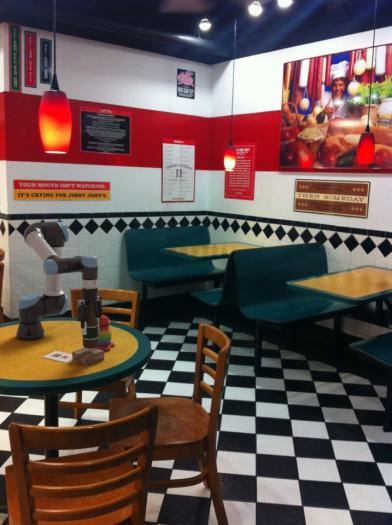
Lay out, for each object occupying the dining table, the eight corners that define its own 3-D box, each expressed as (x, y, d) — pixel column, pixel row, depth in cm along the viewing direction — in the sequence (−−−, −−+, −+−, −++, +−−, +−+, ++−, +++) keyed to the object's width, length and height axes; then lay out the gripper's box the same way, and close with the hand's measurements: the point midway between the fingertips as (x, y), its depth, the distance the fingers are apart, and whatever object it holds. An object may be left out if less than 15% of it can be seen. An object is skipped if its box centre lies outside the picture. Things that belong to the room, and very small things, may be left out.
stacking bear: (108, 352, 266) (108, 319, 263) (90, 350, 268) (90, 317, 265) (115, 345, 277) (115, 313, 273) (98, 343, 279) (98, 312, 275)
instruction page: (42, 357, 256) (42, 356, 256) (55, 351, 265) (55, 350, 265) (66, 363, 250) (66, 362, 250) (79, 356, 259) (79, 355, 259)
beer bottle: (83, 343, 256) (83, 297, 252) (99, 343, 257) (99, 297, 252) (81, 348, 248) (80, 301, 244) (97, 348, 249) (97, 301, 245)
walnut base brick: (72, 361, 253) (72, 351, 252) (88, 355, 262) (88, 345, 261) (87, 366, 247) (87, 357, 246) (104, 360, 256) (104, 350, 255)
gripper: (79, 292, 237) (80, 339, 241) (110, 284, 253) (110, 328, 258) (68, 289, 241) (69, 335, 245) (99, 282, 258) (99, 325, 262)
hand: (90, 332), depth 251 cm, fingers closed on beer bottle, 8 cm apart
